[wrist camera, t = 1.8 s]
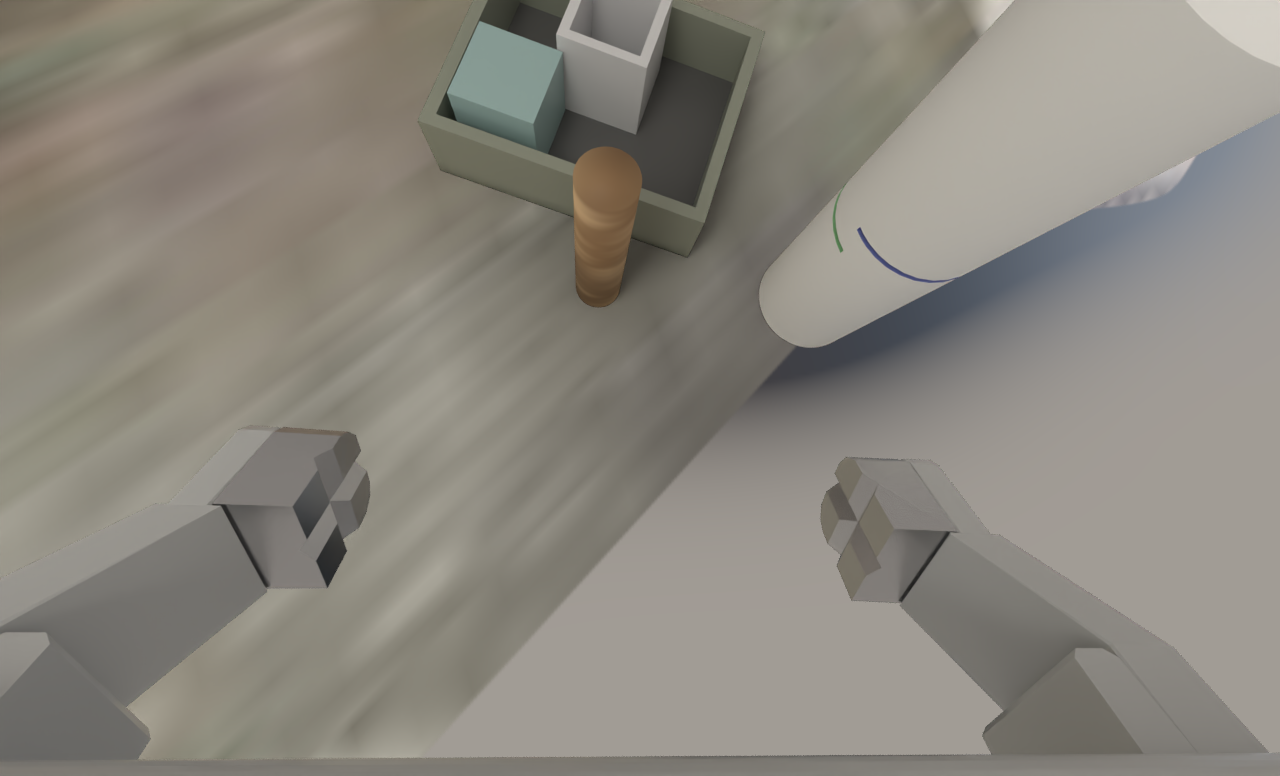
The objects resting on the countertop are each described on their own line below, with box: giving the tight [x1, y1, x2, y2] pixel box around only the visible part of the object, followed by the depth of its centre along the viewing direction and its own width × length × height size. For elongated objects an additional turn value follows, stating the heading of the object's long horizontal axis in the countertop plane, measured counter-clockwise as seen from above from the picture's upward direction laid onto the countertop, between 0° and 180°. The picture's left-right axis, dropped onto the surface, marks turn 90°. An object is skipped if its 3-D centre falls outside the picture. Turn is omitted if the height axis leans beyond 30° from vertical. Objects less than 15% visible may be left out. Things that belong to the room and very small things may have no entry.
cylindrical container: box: [759, 0, 1280, 348], centre depth 24 cm, size 7×7×25 cm
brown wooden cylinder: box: [573, 147, 642, 307], centre depth 28 cm, size 3×3×13 cm
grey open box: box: [418, 0, 765, 257], centre depth 33 cm, size 18×15×7 cm
